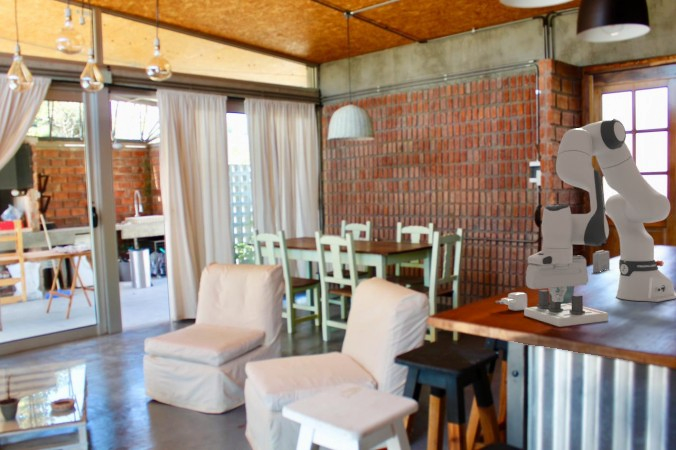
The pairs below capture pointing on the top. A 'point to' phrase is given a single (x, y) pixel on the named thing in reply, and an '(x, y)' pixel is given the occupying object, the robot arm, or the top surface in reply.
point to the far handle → (543, 299)
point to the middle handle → (555, 305)
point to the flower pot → (566, 294)
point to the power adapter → (515, 301)
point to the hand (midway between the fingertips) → (557, 301)
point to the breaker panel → (566, 315)
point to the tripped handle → (577, 304)
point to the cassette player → (601, 261)
